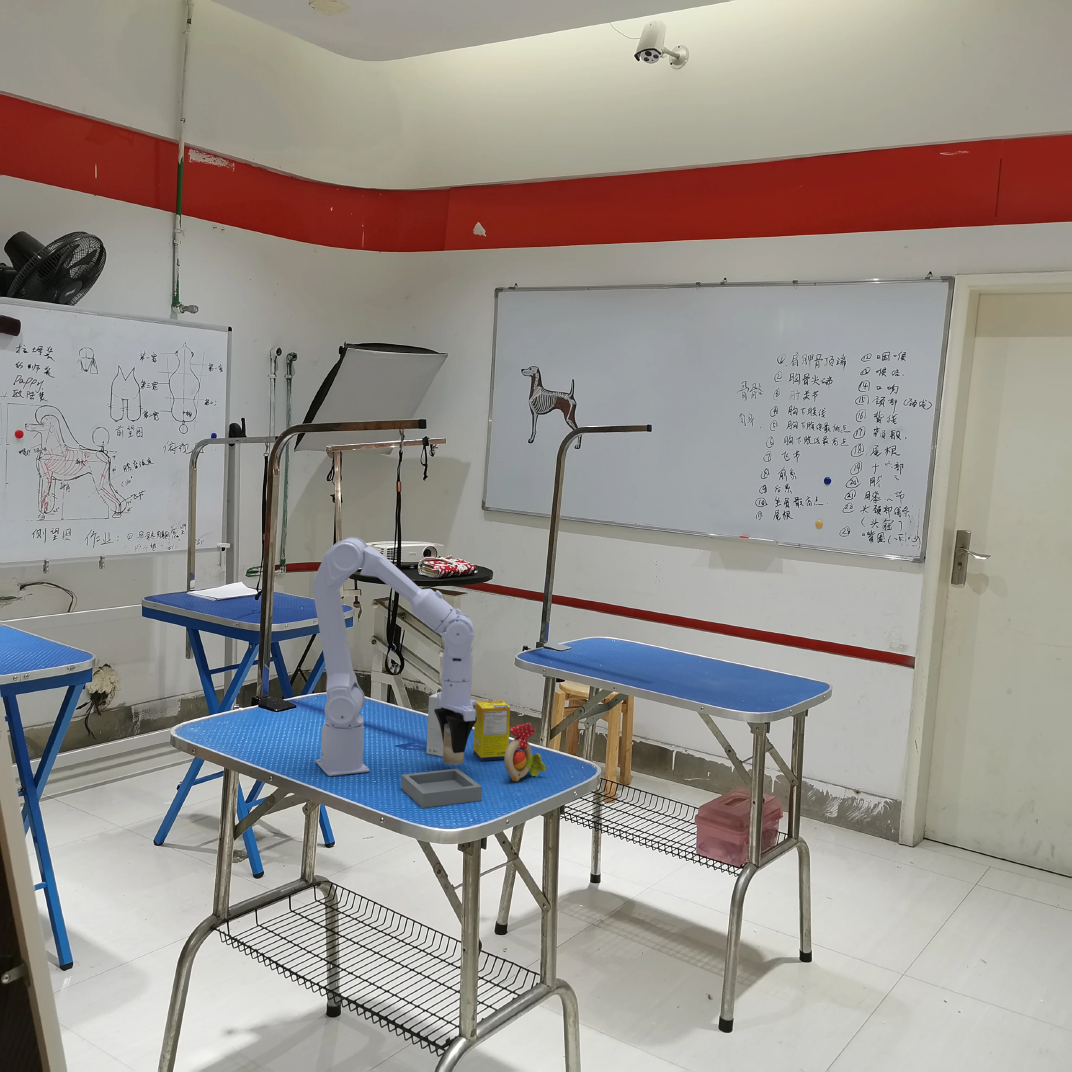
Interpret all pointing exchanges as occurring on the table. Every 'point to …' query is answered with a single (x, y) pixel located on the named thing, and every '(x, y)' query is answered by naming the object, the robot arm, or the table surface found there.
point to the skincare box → (434, 729)
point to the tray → (440, 788)
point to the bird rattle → (522, 754)
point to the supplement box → (491, 730)
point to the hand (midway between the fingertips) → (453, 748)
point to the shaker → (450, 749)
